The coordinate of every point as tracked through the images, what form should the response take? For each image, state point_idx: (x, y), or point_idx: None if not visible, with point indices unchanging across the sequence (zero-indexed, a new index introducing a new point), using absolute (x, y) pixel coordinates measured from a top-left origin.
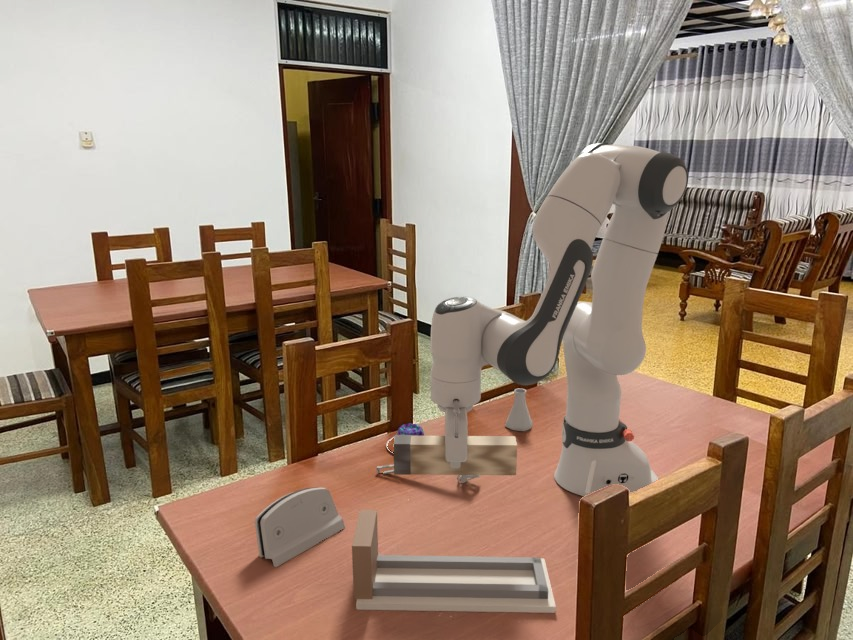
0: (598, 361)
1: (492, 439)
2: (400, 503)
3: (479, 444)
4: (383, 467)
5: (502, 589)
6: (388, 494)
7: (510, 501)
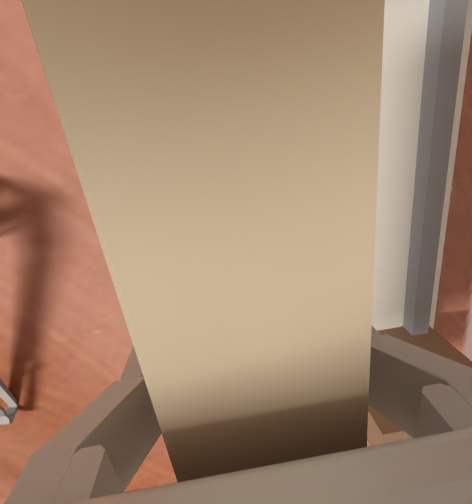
0: None
1: (179, 46)
2: (119, 342)
3: (362, 243)
4: (4, 414)
5: (456, 78)
6: (93, 371)
7: (6, 72)
